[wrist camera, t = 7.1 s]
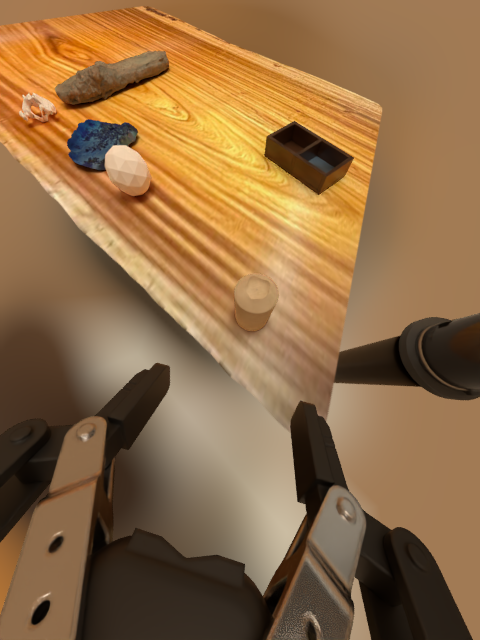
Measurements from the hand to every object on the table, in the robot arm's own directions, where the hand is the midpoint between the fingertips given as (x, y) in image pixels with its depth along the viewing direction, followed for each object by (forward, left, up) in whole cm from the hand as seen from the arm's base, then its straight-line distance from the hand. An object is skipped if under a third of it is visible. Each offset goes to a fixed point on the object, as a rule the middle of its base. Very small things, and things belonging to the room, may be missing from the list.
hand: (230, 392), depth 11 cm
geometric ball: (+44, -10, -17) cm, 49 cm away
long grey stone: (+86, -29, -17) cm, 93 cm away
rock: (+63, -11, -17) cm, 67 cm away
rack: (+26, -44, -17) cm, 54 cm away
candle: (+6, -9, -17) cm, 20 cm away
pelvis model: (+84, -5, -17) cm, 86 cm away
